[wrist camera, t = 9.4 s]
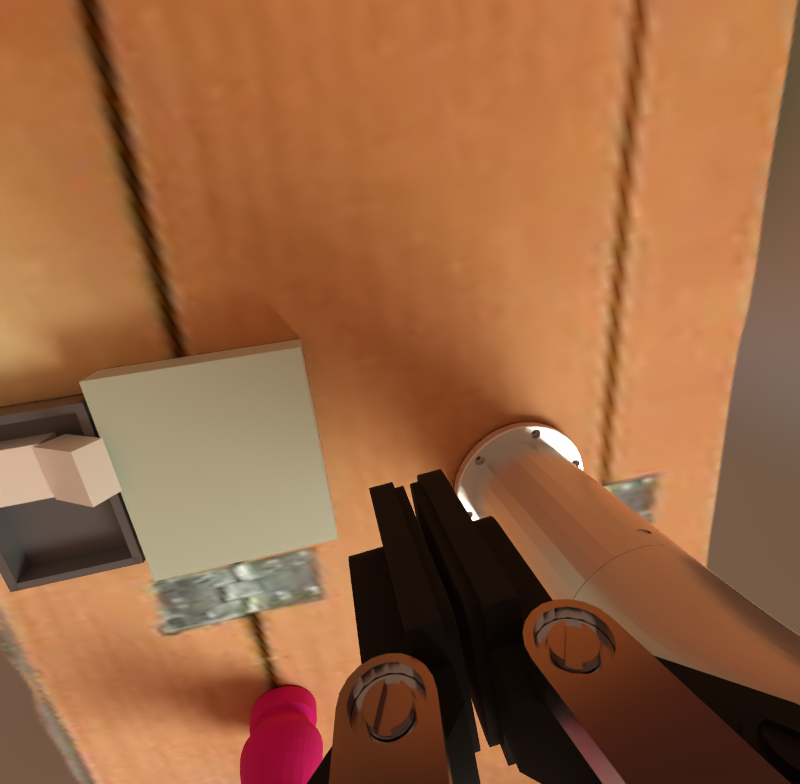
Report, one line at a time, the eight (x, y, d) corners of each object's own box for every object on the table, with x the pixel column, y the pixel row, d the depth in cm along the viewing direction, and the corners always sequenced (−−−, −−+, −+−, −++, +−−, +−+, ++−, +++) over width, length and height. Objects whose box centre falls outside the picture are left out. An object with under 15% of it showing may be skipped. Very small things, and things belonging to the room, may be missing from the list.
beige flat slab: (300, 338, 33) (300, 347, 30) (335, 517, 38) (337, 539, 35) (99, 370, 31) (78, 381, 28) (165, 555, 36) (154, 581, 33)
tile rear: (-31, 455, 28) (-10, 443, 30) (-4, 508, 29) (14, 493, 31) (38, 443, 29) (54, 432, 31) (60, 495, 30) (75, 481, 32)
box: (98, 391, 31) (82, 402, 29) (153, 541, 35) (143, 562, 33) (-45, 414, 30) (-75, 428, 27) (30, 568, 34) (10, 592, 31)
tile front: (102, 438, 29) (70, 452, 27) (121, 490, 30) (93, 507, 28) (65, 433, 30) (33, 447, 28) (85, 484, 32) (56, 499, 30)
